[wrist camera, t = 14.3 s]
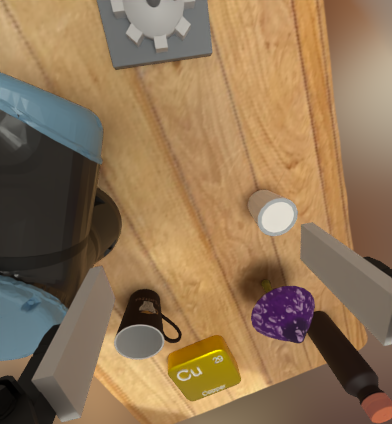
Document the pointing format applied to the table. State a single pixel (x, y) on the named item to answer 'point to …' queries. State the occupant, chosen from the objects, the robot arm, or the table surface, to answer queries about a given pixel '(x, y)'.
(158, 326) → the coffee mug
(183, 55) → the gear board
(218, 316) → the table surface
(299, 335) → the decorative mushroom
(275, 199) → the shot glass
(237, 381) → the element tile
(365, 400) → the bottle
